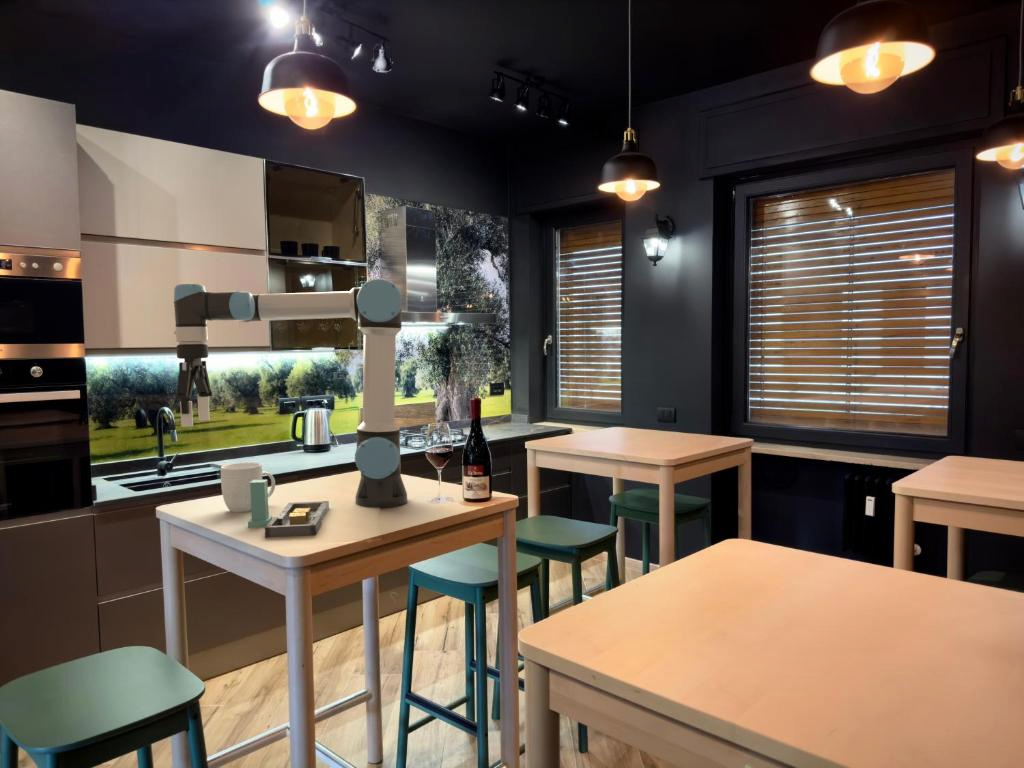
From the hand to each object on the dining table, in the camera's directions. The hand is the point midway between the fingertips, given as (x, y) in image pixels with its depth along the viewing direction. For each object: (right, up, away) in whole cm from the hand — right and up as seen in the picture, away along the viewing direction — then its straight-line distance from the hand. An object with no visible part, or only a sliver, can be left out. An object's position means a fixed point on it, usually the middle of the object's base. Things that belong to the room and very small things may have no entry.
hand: (196, 423), depth 183 cm
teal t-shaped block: (+18, -27, -3) cm, 32 cm away
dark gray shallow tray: (+27, -26, +4) cm, 38 cm away
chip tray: (+29, -27, -10) cm, 41 cm away
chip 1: (+28, -26, -3) cm, 38 cm away
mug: (+8, -26, +15) cm, 31 cm away
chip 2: (+28, -26, +2) cm, 38 cm away
